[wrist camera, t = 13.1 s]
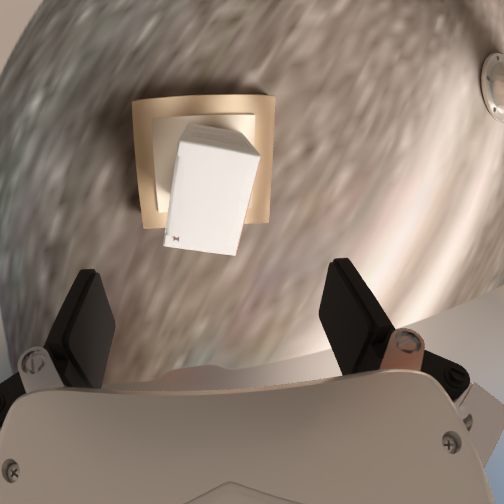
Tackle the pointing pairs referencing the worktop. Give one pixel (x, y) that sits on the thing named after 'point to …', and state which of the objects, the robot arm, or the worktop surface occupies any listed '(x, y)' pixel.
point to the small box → (210, 190)
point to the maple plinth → (170, 130)
